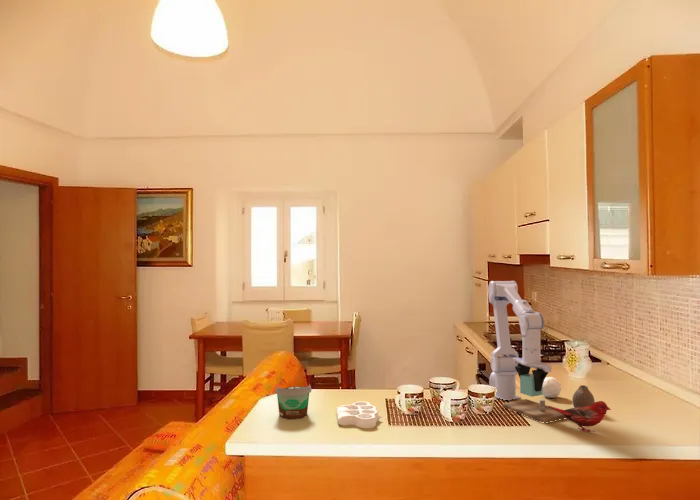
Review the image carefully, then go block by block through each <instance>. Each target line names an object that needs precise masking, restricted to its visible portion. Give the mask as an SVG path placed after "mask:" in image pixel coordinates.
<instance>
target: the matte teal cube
mask: <svg viewBox="0 0 700 500" xmlns="http://www.w3.org/2000/svg"><path fill="white" fill-rule="evenodd" d="M519 385H520V386H519V390H520V391H519V393H520V394H522V395H526V396H528V397H532V398H533V397H537V396H544V395H543V385H542V389H541V391H538V392H536V391H535V382H534V376H533V373H529V374H525V375H520V377H519Z"/></svg>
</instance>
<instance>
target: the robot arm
mask: <svg viewBox="0 0 700 500" xmlns="http://www.w3.org/2000/svg"><path fill="white" fill-rule="evenodd" d="M518 287H519V286H518V284H517V282H516V281H515V280H503V281H502V280H495V281H494V280H491V281H489V284H488V286H487V294H488V295H487V296H488V302H489V304H491V305H492V307H493V315H494V316H493V317H494V326H495V327H494V328H495V336H496V344H497V347H496V348H495V349H494V350H493V351H491V353H490V368H491V370H492V372H491V373H490V375H489V377H488V379H489V380H488V381H489V382H488V386H493V387H496V389H497V392H496V397H495V398H496V399H499V398H500V399H499V400H502V399H503V400H502V401H505V400H508V401H513V400H518V399H522V398H521V397H522V396H520V395H517V394H516V384H517V383H516V380H517V379H516V378H517V377H516V376H517V375H518V377H519V378H520V375H525V374H530V371H531V374H533V376H534V382H535V391H536V392H538V391H541V389H542V385H543V382H544V380H545V378H546V377H548V376H547V375H548V374H549V373H550V372H552V365H550V364H547V363H544V362H542V361H541V330H543V329H544V328H545V327H544V326H545V319H544V316H543V314H542V312H540V311H539V312H537V311H535V310H534V309H533V308H532V307H531V305H530V304H529V302H528V301H527V300H526V299H522V297H521V296H520V294H519V293H518V292H519V290H518V289H519V288H518ZM510 304H511V305H512V311H513V313H514V314H515V315H516V317H517V318H518V319H519V320H518V323H519V329H520V334H521V335H522V339H521V340H522V345H521V346H522V347H521V348H522V349H521V350H522V355H521V356H522V357H519V352H518V351H517V350H515V349H514V348H512V344H511V343H512V342H511V336H510V327H509V319H508V316H509V315H508V309H507V308H508V307H507V306H508V305H510ZM531 369H533V370H531ZM512 399H513V400H512Z"/></svg>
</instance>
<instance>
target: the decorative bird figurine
mask: <svg viewBox="0 0 700 500" xmlns="http://www.w3.org/2000/svg"><path fill="white" fill-rule="evenodd" d="M547 406H548V407H550V408H552V409H554V410H556V411H558V412H560V413H562V414H563V415H564V416H565V417H566V418H567V419H566V420H569V421H570V422H572V423H574V424H576V425H577V426H578V428H576V430H580V431H582V432H585V433H586V432H587V433H595V432H596V431H594V430H590V429H589V427H593V426H596V425H598V424H600V423H601V422H602V421H603V420H604V417H605V415H607V412H608V411H611V408H610V407H609V406H608V405H607V403H606V402H605V401H603V400H599V401H595V402H594V403H593V404H591V405H590V406H586V407H577V408H574V407H572V408H568V409H561V408H558V407H554V406H550V405H547ZM585 427H587V428H585Z"/></svg>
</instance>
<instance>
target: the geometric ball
mask: <svg viewBox="0 0 700 500" xmlns="http://www.w3.org/2000/svg"><path fill="white" fill-rule="evenodd" d="M561 391H562V386H561V382H559V380H558V379H556V378H555V377H553V376H546V377H545V380H544V382H543V395H542V396H543V397H546V398H547V399H550V398H551V399H554V398H556V397H558V396H560V394H561Z"/></svg>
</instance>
